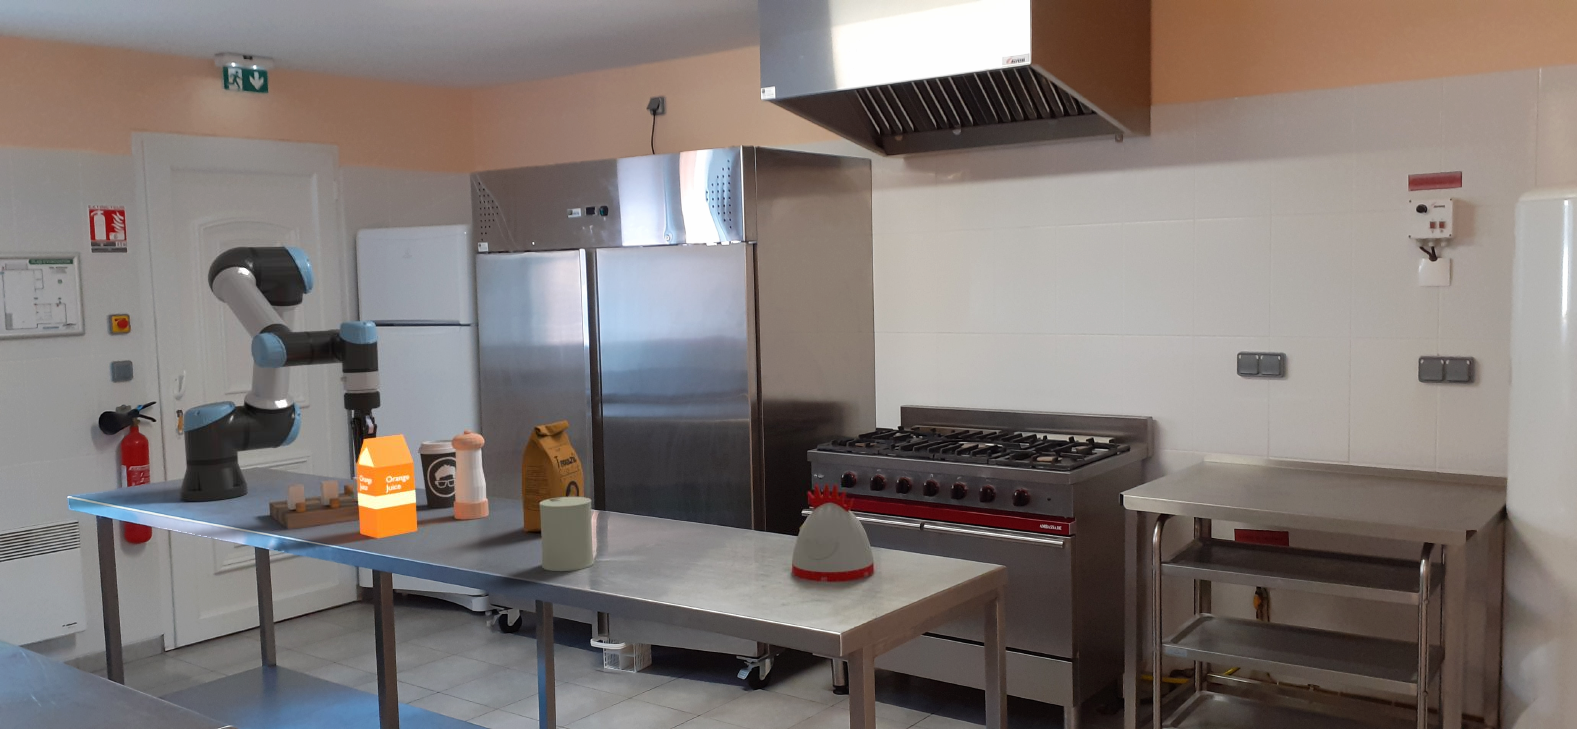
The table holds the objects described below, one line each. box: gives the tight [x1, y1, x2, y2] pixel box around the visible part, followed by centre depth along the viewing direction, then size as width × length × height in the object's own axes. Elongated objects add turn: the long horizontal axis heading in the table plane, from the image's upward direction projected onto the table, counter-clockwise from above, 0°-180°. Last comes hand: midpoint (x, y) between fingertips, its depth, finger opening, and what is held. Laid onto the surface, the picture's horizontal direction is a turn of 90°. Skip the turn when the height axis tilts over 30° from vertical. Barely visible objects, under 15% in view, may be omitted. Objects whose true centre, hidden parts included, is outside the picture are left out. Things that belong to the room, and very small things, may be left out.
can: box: [539, 496, 595, 572], centre depth 201 cm, size 9×9×12 cm
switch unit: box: [268, 484, 360, 530], centre depth 254 cm, size 20×20×5 cm
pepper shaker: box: [451, 429, 490, 520], centre depth 248 cm, size 7×7×19 cm
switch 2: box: [319, 479, 339, 505], centre depth 250 cm, size 3×3×5 cm
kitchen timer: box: [791, 483, 875, 583], centre depth 191 cm, size 14×14×15 cm
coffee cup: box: [417, 439, 456, 510], centre depth 261 cm, size 10×10×15 cm
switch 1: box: [286, 483, 306, 510], centre depth 246 cm, size 3×3×5 cm
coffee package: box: [521, 419, 585, 533], centre depth 233 cm, size 10×12×22 cm
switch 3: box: [352, 476, 358, 501], centre depth 254 cm, size 3×3×5 cm
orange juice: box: [356, 434, 418, 539], centre depth 234 cm, size 8×9×20 cm
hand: (367, 496), depth 251 cm, fingers closed
